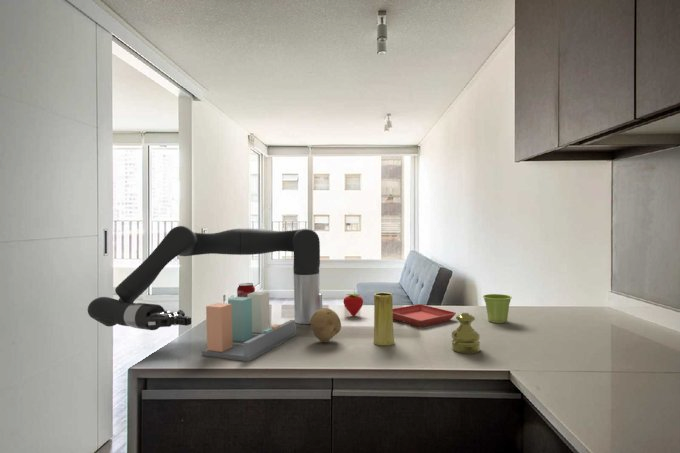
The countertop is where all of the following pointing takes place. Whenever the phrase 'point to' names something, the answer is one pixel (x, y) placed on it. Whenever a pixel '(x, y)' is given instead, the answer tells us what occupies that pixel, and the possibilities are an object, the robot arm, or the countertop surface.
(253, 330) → the key cream
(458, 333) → the olive glossy tiered piece
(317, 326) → the natural sponge
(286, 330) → the grey divided tray
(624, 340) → the countertop surface
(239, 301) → the key teal
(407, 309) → the plant saucer
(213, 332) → the key terracotta
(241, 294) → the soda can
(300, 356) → the countertop surface
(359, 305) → the strawberry
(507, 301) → the plant pot
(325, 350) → the countertop surface
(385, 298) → the vase
